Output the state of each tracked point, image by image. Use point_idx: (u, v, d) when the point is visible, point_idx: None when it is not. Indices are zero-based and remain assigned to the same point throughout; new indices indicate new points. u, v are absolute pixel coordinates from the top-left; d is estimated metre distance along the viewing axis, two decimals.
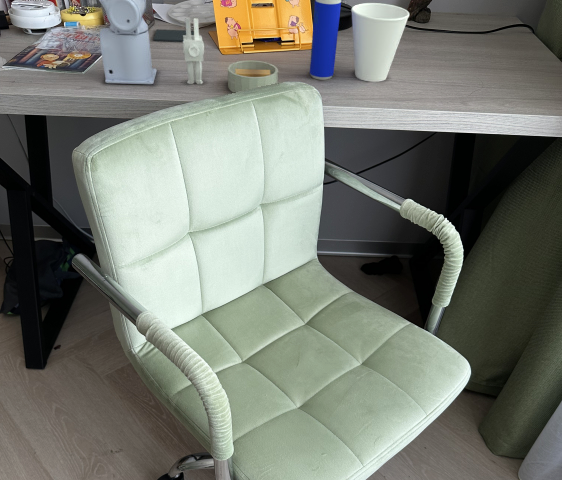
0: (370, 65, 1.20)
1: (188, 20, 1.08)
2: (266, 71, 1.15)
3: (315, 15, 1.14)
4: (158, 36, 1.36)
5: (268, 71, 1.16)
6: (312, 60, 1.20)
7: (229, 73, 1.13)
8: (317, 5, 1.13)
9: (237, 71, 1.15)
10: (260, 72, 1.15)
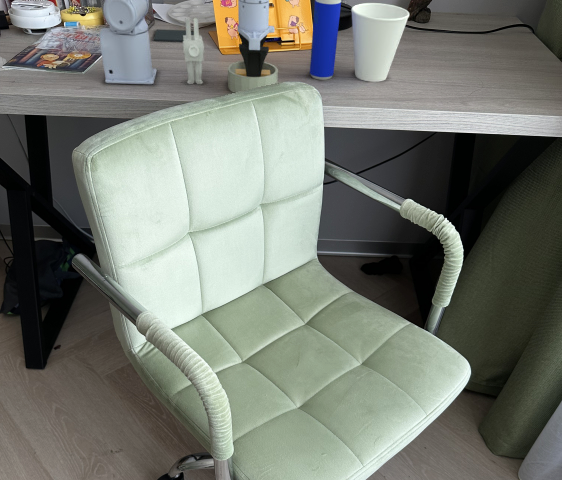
0: (370, 65, 1.20)
1: (188, 20, 1.08)
2: (266, 71, 1.15)
3: (315, 15, 1.14)
4: (158, 36, 1.36)
5: (268, 71, 1.16)
6: (312, 60, 1.20)
7: (229, 73, 1.13)
8: (317, 5, 1.13)
9: (237, 71, 1.15)
10: None
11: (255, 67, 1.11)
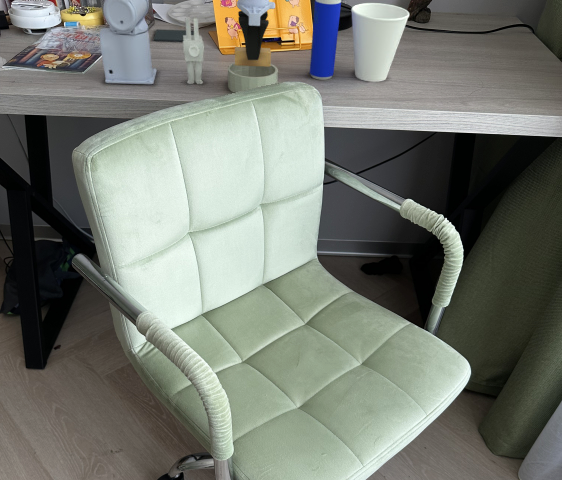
0: (370, 65, 1.20)
1: (188, 20, 1.08)
2: (266, 49, 1.13)
3: (315, 15, 1.14)
4: (158, 36, 1.36)
5: (268, 49, 1.13)
6: (312, 60, 1.20)
7: (229, 73, 1.13)
8: (317, 5, 1.13)
9: (236, 49, 1.12)
10: (260, 50, 1.12)
11: (255, 41, 1.09)
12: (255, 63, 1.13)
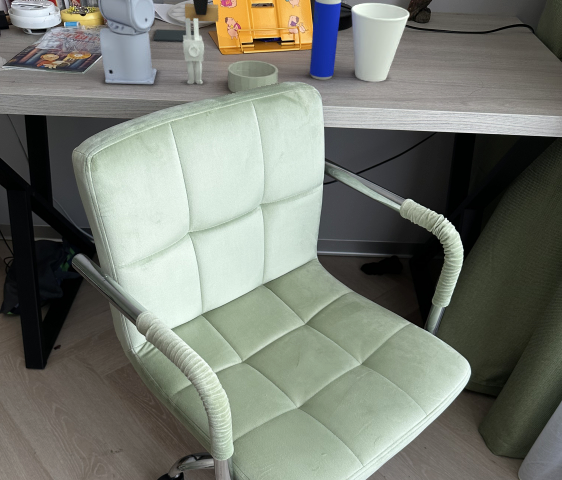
0: (370, 65, 1.20)
1: (188, 20, 1.08)
2: (214, 5, 1.23)
3: (315, 15, 1.14)
4: (158, 36, 1.36)
5: (216, 5, 1.23)
6: (312, 60, 1.20)
7: (229, 73, 1.13)
8: (317, 5, 1.13)
9: (186, 5, 1.22)
10: (208, 6, 1.22)
11: None
12: (204, 18, 1.23)
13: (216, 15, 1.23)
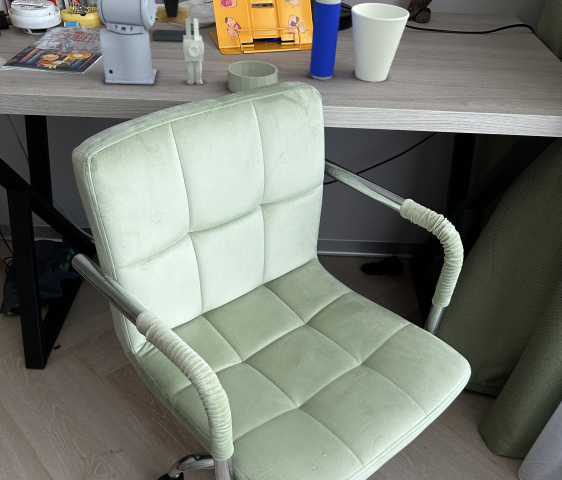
0: (370, 65, 1.20)
1: (188, 20, 1.08)
2: (184, 8, 1.34)
3: (315, 15, 1.14)
4: (158, 36, 1.36)
5: (186, 8, 1.34)
6: (312, 60, 1.20)
7: (229, 73, 1.13)
8: (317, 5, 1.13)
9: (158, 8, 1.33)
10: (179, 9, 1.33)
11: (172, 1, 1.31)
12: (175, 20, 1.34)
13: (186, 17, 1.34)
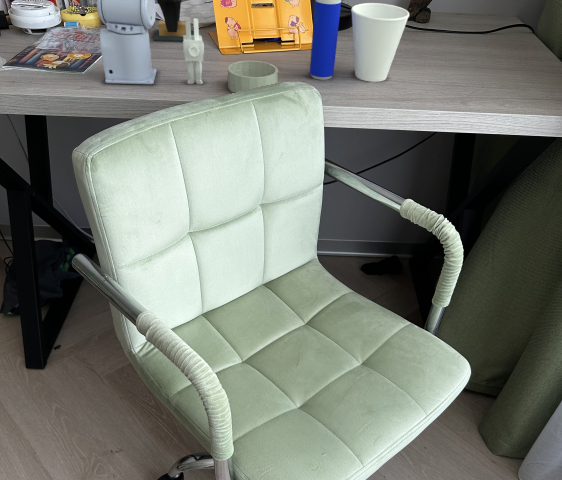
0: (370, 65, 1.20)
1: (188, 20, 1.08)
2: None
3: (315, 15, 1.14)
4: (158, 36, 1.36)
5: None
6: (312, 60, 1.20)
7: (229, 73, 1.13)
8: (317, 5, 1.13)
9: (160, 21, 1.35)
10: (180, 23, 1.35)
11: (172, 16, 1.31)
12: (176, 34, 1.36)
13: None
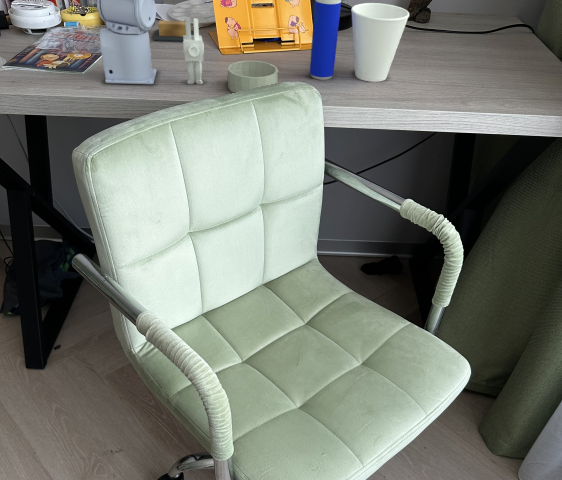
0: (370, 65, 1.20)
1: (188, 20, 1.08)
2: None
3: (315, 15, 1.14)
4: (158, 36, 1.36)
5: None
6: (312, 60, 1.20)
7: (229, 73, 1.13)
8: (317, 5, 1.13)
9: (160, 21, 1.35)
10: (180, 23, 1.35)
11: None
12: (176, 34, 1.36)
13: None
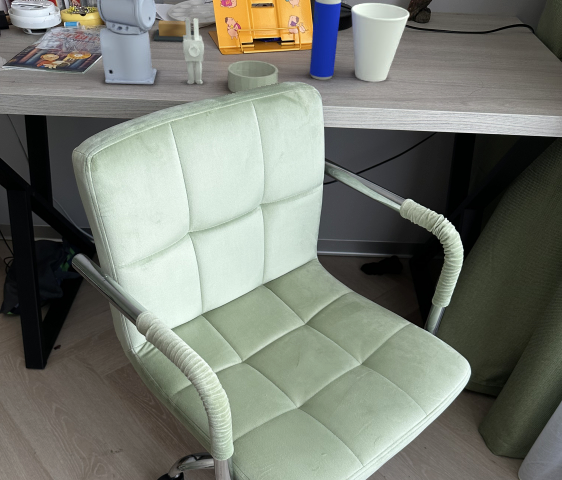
0: (370, 65, 1.20)
1: (188, 20, 1.08)
2: None
3: (315, 15, 1.14)
4: (158, 36, 1.36)
5: None
6: (312, 60, 1.20)
7: (229, 73, 1.13)
8: (317, 5, 1.13)
9: (160, 21, 1.35)
10: (180, 23, 1.35)
11: None
12: (176, 34, 1.36)
13: None
